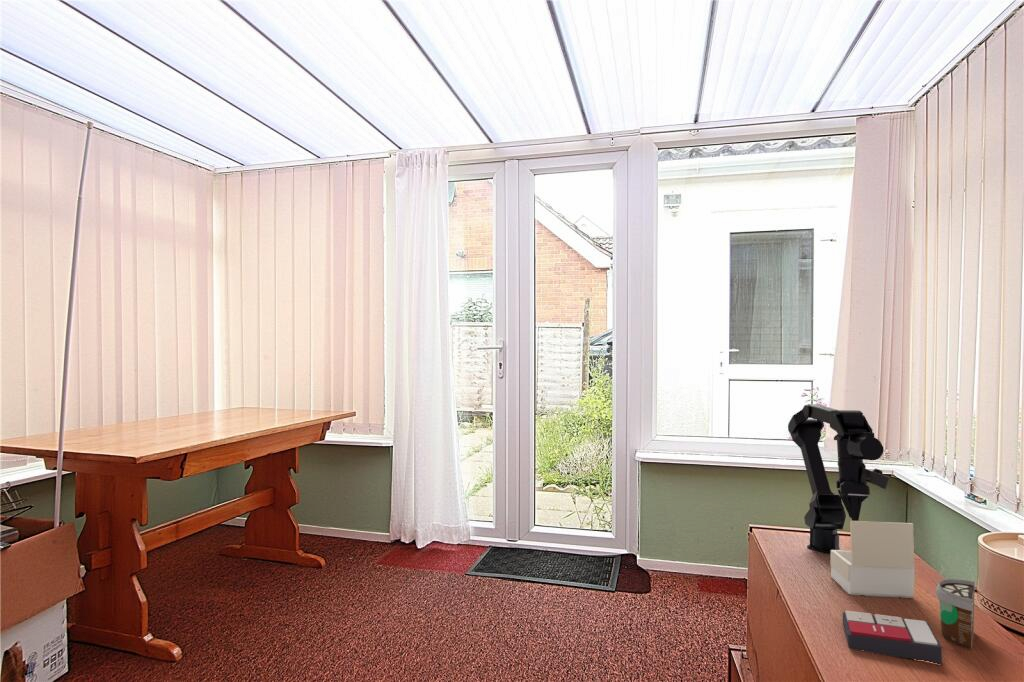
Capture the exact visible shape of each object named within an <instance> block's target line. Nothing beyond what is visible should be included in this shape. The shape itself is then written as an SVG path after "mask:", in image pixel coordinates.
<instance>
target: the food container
mask: <svg viewBox="0 0 1024 682" xmlns="http://www.w3.org/2000/svg"><path fill="white" fill-rule="evenodd" d="M975 583H976V582H975V581H973V580H966V579H960V578H959V579H958V578H948V579H942V580H940V581H939V582H938V584H937V585H936V588H935V591H934V592H935V593H934V594H935V595H936V597H937V598H938V599H939V613H940V614H939V615H940V626H941V627H940V628H941V629H940V630H941V636H942V638H944V639H945V640H946V641H948V642H949V643H951V644H953V645H956V646H958V647H960V648H963V649H966V650H970V651H971V650H972V648H973V647H972V645H973V638H974V633H975V632H974V629H975V624H974V623H975V621H974V620H975V589H976V587H975Z"/></svg>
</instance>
